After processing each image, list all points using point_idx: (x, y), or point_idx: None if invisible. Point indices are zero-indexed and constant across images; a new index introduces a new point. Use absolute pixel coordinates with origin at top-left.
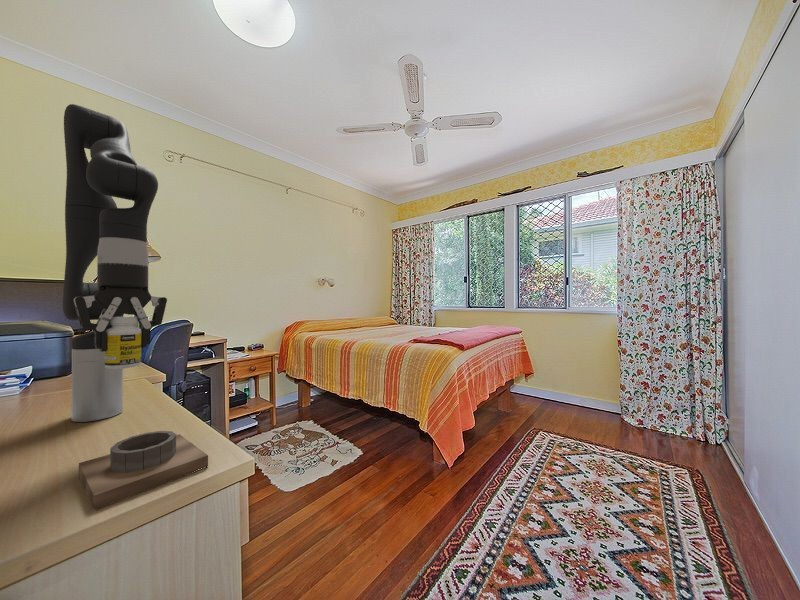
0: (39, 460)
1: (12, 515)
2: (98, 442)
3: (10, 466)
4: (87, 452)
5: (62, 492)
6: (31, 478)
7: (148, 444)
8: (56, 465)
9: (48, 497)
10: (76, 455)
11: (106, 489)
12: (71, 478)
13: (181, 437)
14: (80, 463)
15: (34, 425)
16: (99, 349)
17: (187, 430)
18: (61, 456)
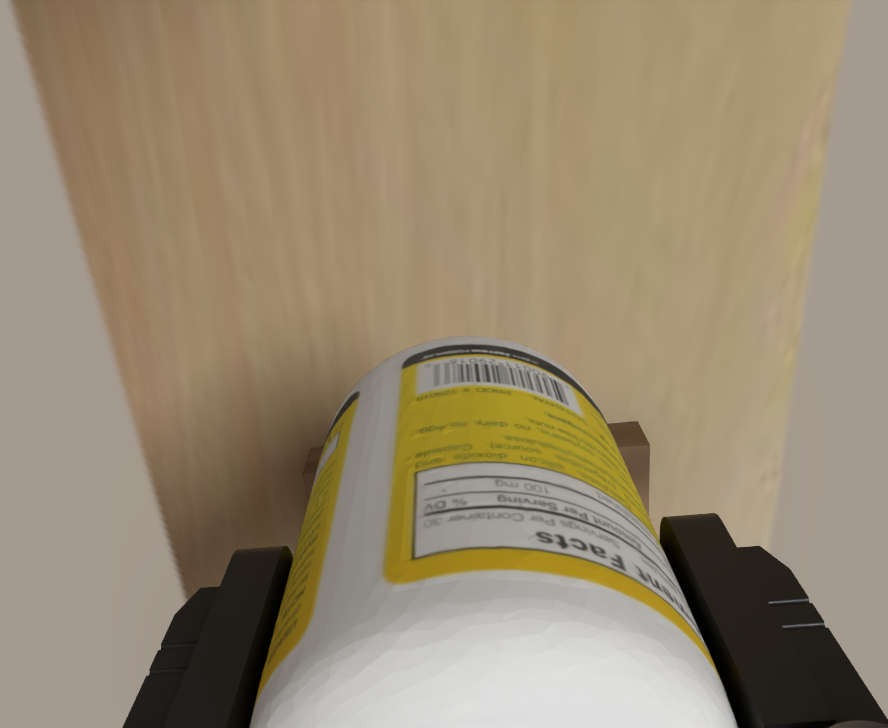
0: (155, 152)
1: (191, 582)
2: (363, 87)
3: (61, 136)
4: (324, 211)
5: (280, 538)
6: (174, 352)
7: None
8: (230, 280)
9: (251, 543)
10: (286, 214)
11: None
12: (292, 454)
13: (641, 489)
14: (308, 481)
15: None
16: (238, 557)
17: (728, 262)
18: (231, 173)
